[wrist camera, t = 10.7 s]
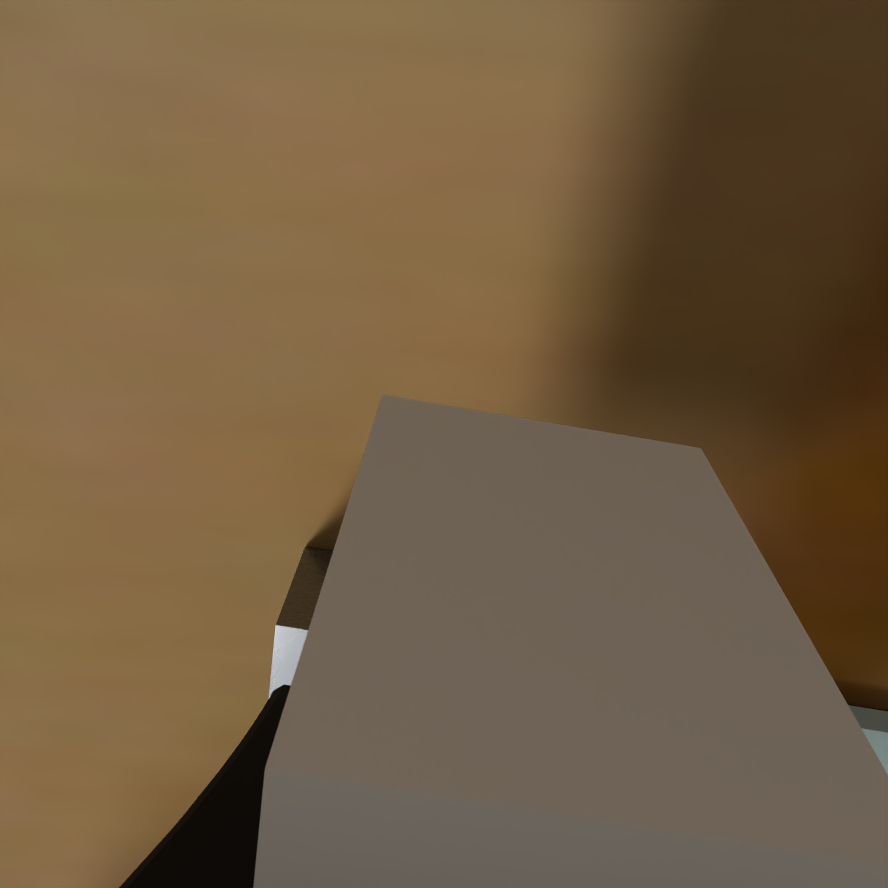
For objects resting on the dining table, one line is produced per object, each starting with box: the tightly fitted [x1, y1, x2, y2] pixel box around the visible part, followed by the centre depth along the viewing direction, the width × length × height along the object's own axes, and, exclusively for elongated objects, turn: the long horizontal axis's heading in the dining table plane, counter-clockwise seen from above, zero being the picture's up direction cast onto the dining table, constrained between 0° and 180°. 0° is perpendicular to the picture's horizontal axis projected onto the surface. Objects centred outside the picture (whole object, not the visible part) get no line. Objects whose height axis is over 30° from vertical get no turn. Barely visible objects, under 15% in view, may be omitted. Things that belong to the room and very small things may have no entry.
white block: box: [253, 395, 888, 888], centre depth 9 cm, size 8×4×6 cm, turn 171°
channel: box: [269, 547, 333, 698], centre depth 19 cm, size 6×7×3 cm
